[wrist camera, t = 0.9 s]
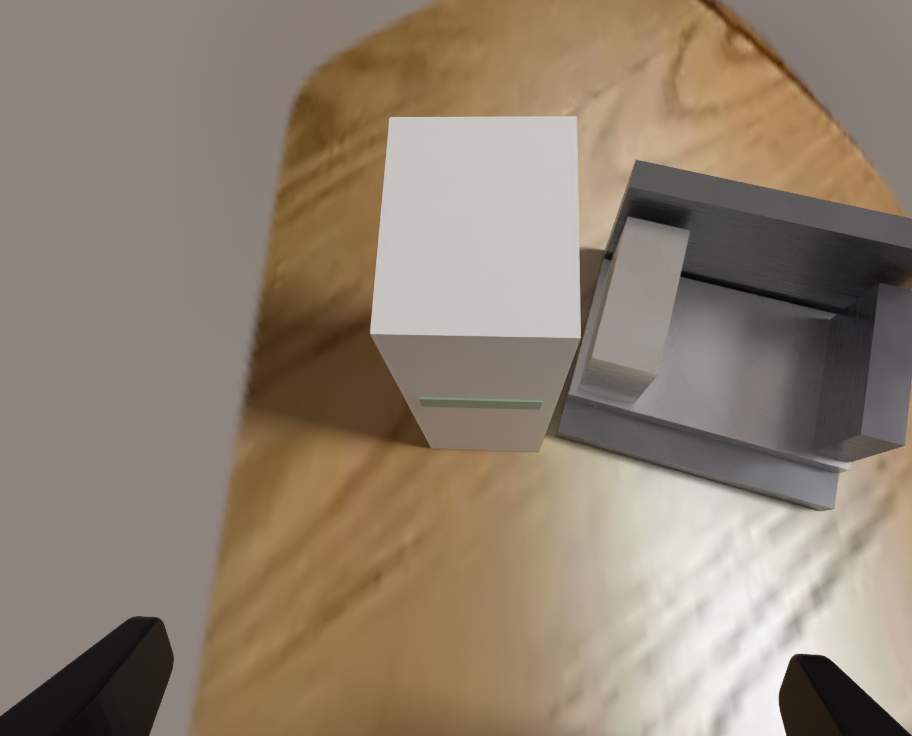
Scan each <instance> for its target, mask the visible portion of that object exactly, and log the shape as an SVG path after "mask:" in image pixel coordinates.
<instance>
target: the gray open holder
mask: <svg viewBox="0 0 912 736" xmlns="http://www.w3.org/2000/svg"><path fill="white" fill-rule="evenodd" d="M911 289H912V219H911V218H906V217H901V216H897V215H892V214H887V213H882V212H878V211H873V210H868V209H864V208H859V207H854V206H850V205H845V204H840V203H836V202H831V201H826V200H822V199H817V198H812V197H808V196H803V195H798V194H794V193H789V192H784V191H780V190H775V189H770V188H766V187H761V186H756V185H752V184H747V183H742V182H737V181H733V180H728V179H723V178H719V177H714V176H709V175H705V174H700V173H695V172H691V171H686V170H681V169H677V168H672V167H667V166H663V165H658V164H653V163H649V162H644V161H639V160H636V161H635V164H634V167H633V170H632V172H631V175H630V178H629V181H628V184H627V187H626V190H625V193H624V196H623V199H622V202H621V205H620V208H619V211H618V214H617V216H616V219H615V222H614V225H613V228H612V231H611V234H610V237H609V240H608V242H607V245H606V248H605V252H604V255H603V259H602V263H601V267H600V271H599V274H598V278H597V282H596V286H595V290H594V294H593V297H592V301H591V305H590V309H589V313H588V316H587V320H586V324H585V328H584V332H583V335H582V339H581V343H580V347H579V351H578V355H577V358H576V362H575V366H574V370H573V374H572V377H571V381H570V385H569V389H568V393H567V396H566V400H565V404H564V408H563V412H562V416H561V419H560V423H559V427H558V431H557V435H556V436H559V437H562V438H566V439H569V440H573V441H576V442H580V443H583V444H587V445H590V446H594V447H597V448H601V449H604V450H608V451H612V452H615V453H619V454H622V455H626V456H629V457H633V458H636V459H640V460H643V461H647V462H650V463H654V464H658V465H661V466H665V467H668V468H672V469H675V470H679V471H682V472H686V473H689V474H693V475H696V476H700V477H703V478H707V479H711V480H714V481H718V482H721V483H725V484H728V485H732V486H735V487H739V488H742V489H746V490H749V491H753V492H757V493H760V494H764V495H767V496H771V497H774V498H778V499H781V500H785V501H788V502H792V503H795V504H799V505H803V506H806V507H810V508H813V509H817V510H820V511H826V510H831V509H834V506H835V498H836V490H837V483H838V475H839V473H842V472H845V471H849V470H850V463H851V462H853V461H856V460H859V459H863V458H866V457H869V456H873V455H876V454H879V453H882V452H886V451H889V450H892V449H896V448H899V447H902V446H905V438H906V428H907V418H908V408H909V398H910V388H911V378H912V290H911Z"/></svg>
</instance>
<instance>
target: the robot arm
mask: <svg viewBox="0 0 912 736" xmlns="http://www.w3.org/2000/svg"><path fill="white" fill-rule="evenodd" d="M173 662H174V656H173V652H172V648H171V645H170V642H169V638H168V635H167V632H166V629H165V626H164V623H163V621H161V619H159V618H157V617H142V616H136V617H132V618H130V619H128V620H126V621H125V622H124V623H122V624H121V625H120V626H118V627H117V628H116V629H114V630H113V631H112V632H111V633H109V634H108V635H107V636H105V637H104V638H103V639H102V640H100V641H99V642H98V643H96V644H95V645H93V646H92V647H91V648H89V649H88V650H87V651H86V652H84V653H83V654H82V655H80V656H79V657H78V658H76V659H75V660H74V661H72V662H71V663H70V664H68V665H67V666H66V667H64V668H63V669H62V670H61V671H59V672H58V673H57V674H55V675H54V676H53V677H51V678H50V679H49V680H47V681H46V682H45V683H43V684H42V685H41V686H40V687H38V688H37V689H36V690H34V691H33V692H32V693H30V694H29V695H28V696H26V697H25V698H24V699H22V700H21V701H20V702H19V703H17V704H16V705H14V706H13V707H12V708H10V709H9V710H8V711H7V712H5V713H4V714H3V715H1V716H0V736H149V734H150V732H151V729H152V726H153V723H154V720H155V717H156V715H157V712H158V709H159V706H160V703H161V701H162V698H163V695H164V692H165V689H166V687H167V684H168V681H169V678H170V675H171V672H172V669H173ZM779 707H780V712H781V716H782V720H783V724H784V728H785V732H786V736H912V735H911V734H910V733H908V732H907V731H906V730H905V729H904V728H903V727H902V726H901V725H900V724H899V723H898V722H897V721H896V720H895V719H894V718H892V717H891V716H890V715H889V714H888V713H887V712H886V711H885V710H884V709H883V708H882V707H881V706H880V705H879V704H877V703H876V702H875V701H874V700H873V699H872V698H871V697H870V696H869V695H868V694H867V693H866V692H865V691H864V690H862V689H861V688H860V687H859V686H858V685H857V684H856V683H855V682H854V681H853V680H852V679H851V678H850V677H849V676H848V675H846V674H845V673H844V672H843V671H842V670H841V669H840V668H839V667H838V666H837V665H836V664H835V663H834V662H832V661H831V660H830V659H828V658H827V657H825V656H822V655H811V654H795V655H794V656H793V657H791V659H790V662H789V665H788V667H787V670H786V673H785V676H784V679H783V682H782V685H781V688H780V691H779Z"/></svg>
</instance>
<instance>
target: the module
mask: <svg viewBox="0 0 912 736" xmlns="http://www.w3.org/2000/svg"><path fill="white" fill-rule="evenodd" d="M370 335H371V337H372V339H373V341H374V343H375V344H376V346H377V348H378V350H379V352H380V354H381V356H382V357H383V359H384V361H385V363H386V365H387V367H388V369H389V371H390V372H391V374H392V376H393V378H394V380H395V382H396V384H397V385H398V387H399V389H400V391H401V393H402V395H403V397H404V399H405V400H406V402H407V404H408V406H409V408H410V410H411V412H412V413H413V415H414V417H415V419H416V421H417V423H418V425H419V427H420V428H421V430H422V432H423V434H424V436H425V438H426V440H427V441H428V443H429V445H430V447H431V449H461V450H492V451H523V452H539V451H540V448H541V445H542V443H543V440H544V437H545V435H546V432H547V429H548V426H549V424H550V421H551V418H552V415H553V413H554V410H555V407H556V405H557V402H558V399H559V396H560V394H561V391H562V388H563V385H564V383H565V380H566V377H567V375H568V372H569V369H570V366H571V364H572V361H573V358H574V355H575V353H576V350H577V347H578V345H579V342H580V339H581V318H580V261H579V204H578V147H577V116H547V117H390V119H389V130H388V141H387V152H386V163H385V174H384V185H383V196H382V207H381V218H380V229H379V240H378V251H377V262H376V273H375V284H374V295H373V306H372V317H371V328H370Z"/></svg>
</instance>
